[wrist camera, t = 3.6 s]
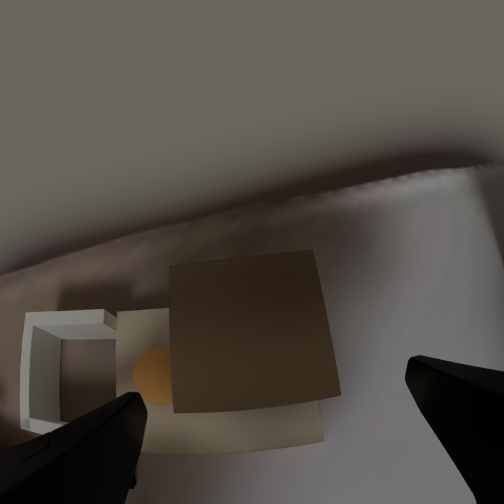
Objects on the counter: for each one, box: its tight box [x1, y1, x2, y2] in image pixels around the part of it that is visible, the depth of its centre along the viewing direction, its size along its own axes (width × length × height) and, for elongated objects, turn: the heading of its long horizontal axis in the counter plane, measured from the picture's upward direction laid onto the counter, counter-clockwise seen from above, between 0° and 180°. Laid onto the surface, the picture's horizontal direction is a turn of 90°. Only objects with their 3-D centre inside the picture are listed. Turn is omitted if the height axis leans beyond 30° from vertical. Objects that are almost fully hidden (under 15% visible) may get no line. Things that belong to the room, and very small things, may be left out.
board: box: [116, 308, 324, 454], centre depth 19 cm, size 10×13×2 cm
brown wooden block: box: [169, 250, 341, 413], centre depth 13 cm, size 4×4×11 cm
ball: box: [133, 348, 173, 406], centre depth 16 cm, size 4×4×4 cm
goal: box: [20, 309, 117, 434], centre depth 18 cm, size 8×9×4 cm
